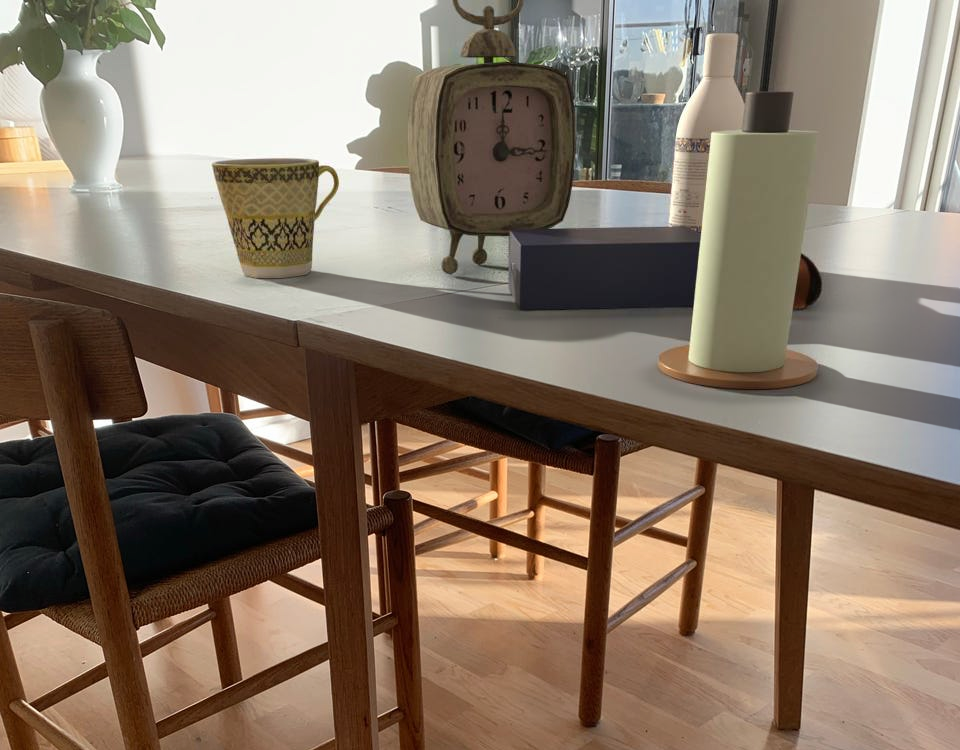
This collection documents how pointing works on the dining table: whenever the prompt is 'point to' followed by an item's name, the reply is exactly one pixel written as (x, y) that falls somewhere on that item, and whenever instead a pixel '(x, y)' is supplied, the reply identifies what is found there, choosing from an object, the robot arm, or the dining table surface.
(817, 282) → the sunglasses case
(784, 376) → the coaster
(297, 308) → the dining table surface
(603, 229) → the navy case
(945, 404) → the dining table surface
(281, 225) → the ceramic cup
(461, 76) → the tabletop clock
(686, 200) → the bath foam
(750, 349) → the bottle
